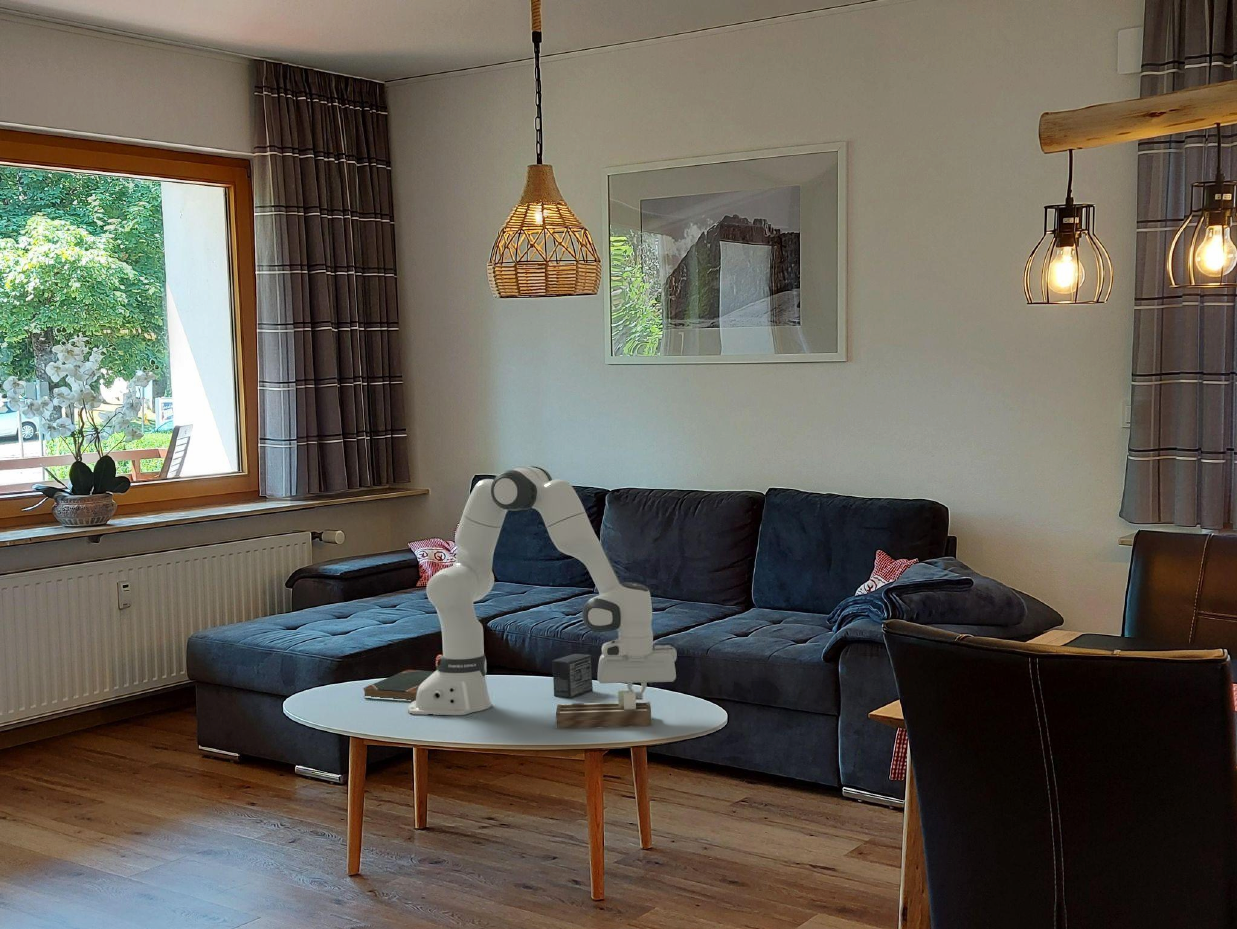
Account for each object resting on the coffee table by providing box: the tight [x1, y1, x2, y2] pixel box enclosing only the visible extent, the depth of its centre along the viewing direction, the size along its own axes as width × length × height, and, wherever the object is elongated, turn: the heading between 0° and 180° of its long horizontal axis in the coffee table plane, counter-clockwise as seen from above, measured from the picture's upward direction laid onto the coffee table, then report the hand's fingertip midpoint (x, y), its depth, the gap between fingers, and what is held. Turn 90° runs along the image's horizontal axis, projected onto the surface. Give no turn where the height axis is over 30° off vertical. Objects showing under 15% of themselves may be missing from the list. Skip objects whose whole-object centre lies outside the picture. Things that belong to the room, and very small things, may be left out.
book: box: [362, 669, 435, 701], centre depth 367 cm, size 17×4×25 cm
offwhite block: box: [624, 692, 637, 710], centre depth 321 cm, size 3×2×6 cm
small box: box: [552, 653, 594, 700], centre depth 356 cm, size 11×6×10 cm, turn 144°
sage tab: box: [617, 688, 631, 707], centre depth 325 cm, size 3×2×6 cm
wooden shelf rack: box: [555, 701, 652, 730], centre depth 324 cm, size 24×9×4 cm, turn 90°
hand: (637, 699), depth 326 cm, fingers closed
